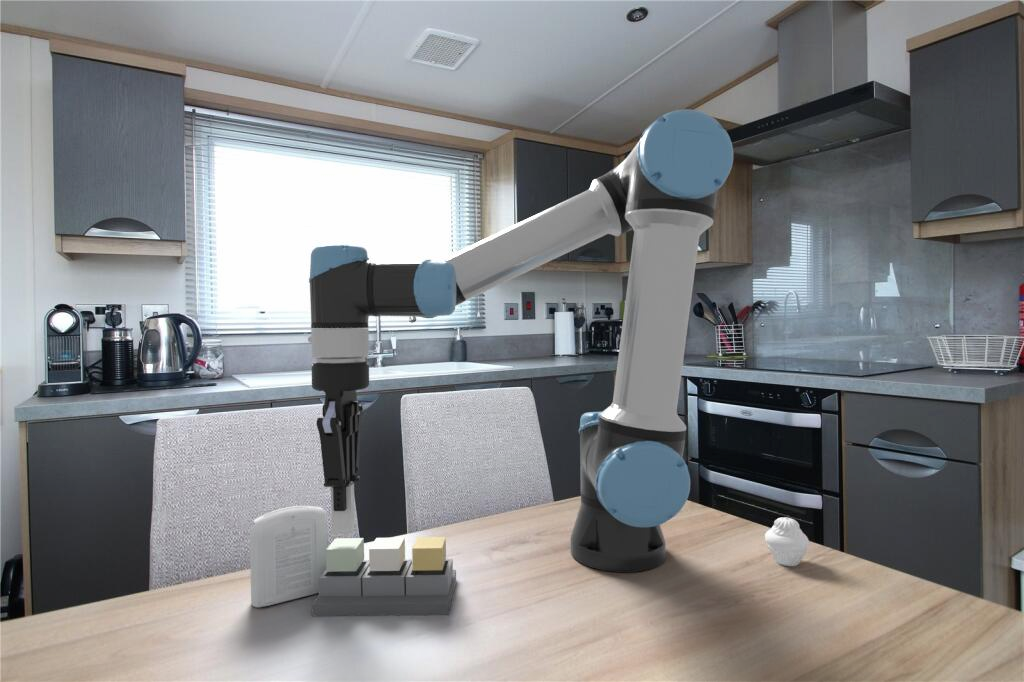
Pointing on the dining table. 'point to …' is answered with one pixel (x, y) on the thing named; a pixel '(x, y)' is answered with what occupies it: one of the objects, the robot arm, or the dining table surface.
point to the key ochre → (429, 553)
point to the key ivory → (387, 554)
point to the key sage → (345, 554)
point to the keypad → (385, 591)
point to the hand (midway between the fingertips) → (343, 531)
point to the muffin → (787, 541)
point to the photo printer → (287, 554)
